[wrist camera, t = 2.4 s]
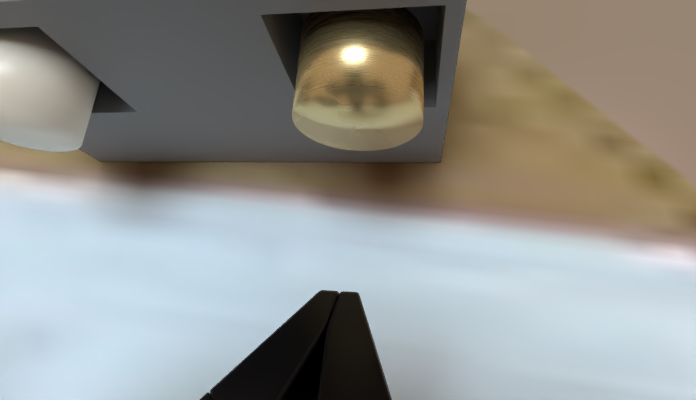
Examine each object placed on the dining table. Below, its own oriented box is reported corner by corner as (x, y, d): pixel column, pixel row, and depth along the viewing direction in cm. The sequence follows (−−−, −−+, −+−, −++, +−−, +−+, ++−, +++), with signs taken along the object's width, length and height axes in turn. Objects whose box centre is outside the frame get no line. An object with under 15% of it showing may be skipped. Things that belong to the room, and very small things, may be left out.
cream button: (106, 151, 16) (16, 94, 13) (16, 151, 17) (-95, 96, 13) (124, 84, 17) (45, 12, 14) (38, 87, 18) (-60, 18, 14)
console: (440, 162, 20) (475, -55, 9) (100, 161, 23) (-183, -7, 12) (440, 56, 22) (468, -227, 11) (125, 67, 25) (-99, -152, 14)
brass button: (421, 150, 15) (425, 83, 11) (308, 151, 15) (274, 87, 12) (422, 76, 16) (426, -10, 12) (315, 78, 16) (287, -2, 12)
